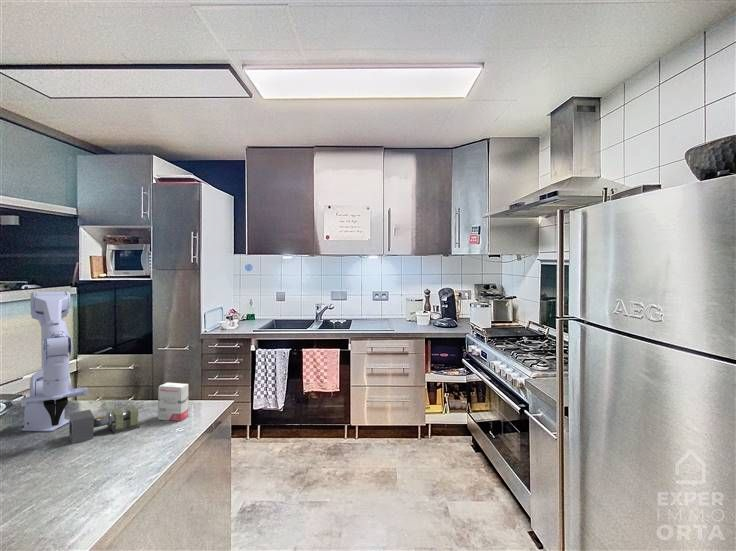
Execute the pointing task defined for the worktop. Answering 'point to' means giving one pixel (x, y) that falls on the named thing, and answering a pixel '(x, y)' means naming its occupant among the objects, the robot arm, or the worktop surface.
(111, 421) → the shaft rig
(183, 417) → the ink box
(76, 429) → the grey housing block
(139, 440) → the worktop surface
